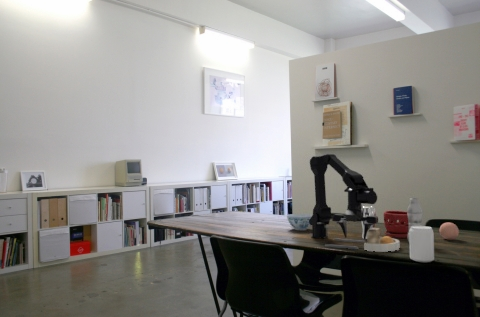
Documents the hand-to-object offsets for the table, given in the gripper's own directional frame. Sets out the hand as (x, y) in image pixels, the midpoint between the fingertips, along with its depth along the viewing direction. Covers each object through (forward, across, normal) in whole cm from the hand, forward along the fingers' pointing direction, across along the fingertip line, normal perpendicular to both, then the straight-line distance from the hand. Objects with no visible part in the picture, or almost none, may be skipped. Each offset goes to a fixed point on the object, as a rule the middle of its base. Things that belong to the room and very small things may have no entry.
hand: (355, 238), depth 173 cm
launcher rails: (+3, -4, 0) cm, 5 cm away
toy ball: (+3, +36, +32) cm, 48 cm away
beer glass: (+3, +2, +20) cm, 20 cm away
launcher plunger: (+3, +8, 0) cm, 8 cm away
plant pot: (+3, +14, +31) cm, 34 cm away
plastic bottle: (+3, +23, +15) cm, 28 cm away
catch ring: (+3, +12, 0) cm, 12 cm away
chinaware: (+3, -37, +33) cm, 50 cm away
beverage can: (+3, +28, -17) cm, 33 cm away
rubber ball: (+1, +13, 0) cm, 13 cm away
